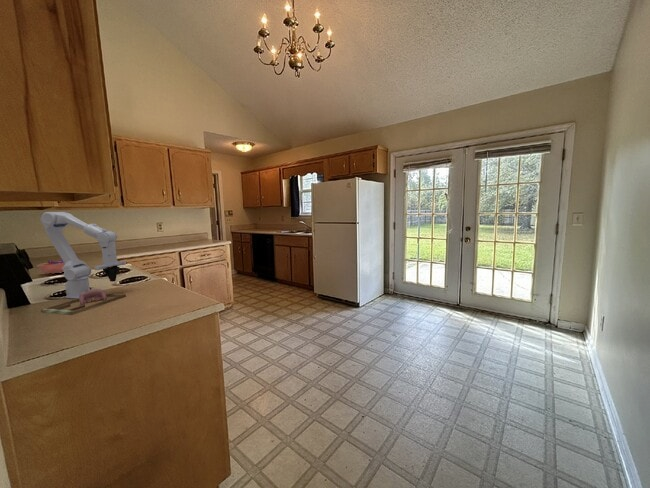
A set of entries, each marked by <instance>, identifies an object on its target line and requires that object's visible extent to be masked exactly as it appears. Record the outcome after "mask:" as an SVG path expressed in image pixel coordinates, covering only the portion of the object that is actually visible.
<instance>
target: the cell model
mask: <svg viewBox="0 0 650 488" xmlns="http://www.w3.org/2000/svg"><path fill="white" fill-rule="evenodd" d="M64 265H65V263H64V262H63V260H62V259H60V260H55V261H54V260H51V261H50V260H48V261H47V262H44V263H39V264H37V265H36V266H37V268H38V269H39V270H40V271H41V272H42V273H44V274H47V275H50V274H49V273H60V272H63V270H62V268H63V267H64Z"/></svg>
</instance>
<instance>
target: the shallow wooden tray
mask: <svg viewBox="0 0 650 488" xmlns="http://www.w3.org/2000/svg"><path fill="white" fill-rule="evenodd" d="M105 294H106V297H112V298H107V299H106V300H105V301H104V300H102V301H100V302H96V303H93V304H90V305H88V306H86V304H84V305H81V304H80V305H78V306H75V307H72V308H69V307H71V304H74V303H75V304H76V303H77V302H80V301H79V298H78V299H77V298H74V299H71V300H69V301H68V300H67V301H65V302H61V303H59V304H55V305H51V306H48V307H45V308H40V312H41V313H48V314H49V313H50V314H60V315H71V316H72V315H76V314H79V313H82V312H84V311H85V312H86V311H87V310H91V309H93V308H96V307H101V306H103V305H105V304H108V303H112V302H115V301H117V300H119V299H123V298H125V297H127V296H126V294H124V293H111V292H110V293H109V292H105ZM90 297H91V298H92V299H93V298H95V296H90ZM66 308H68V309H66Z"/></svg>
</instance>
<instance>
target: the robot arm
mask: <svg viewBox="0 0 650 488" xmlns="http://www.w3.org/2000/svg"><path fill="white" fill-rule="evenodd" d="M39 221H40V222H41V224H42V226H43V228H44V232H45V234H46V236H47V237H48V239H49V241H50V243H51V244H52V245H53V247H54V249H55V250H56V252H57V254H58V255H59V257H60V258H61V260H63V262H64V263H65V265H64V267H63V268H62V270H63V272H64V273H63V276H64V278H65V280H67V281H66V282H65V294H66V296H64V298H65V299H78V298H79V296H80V294H82V293H83V292H86V291H88V290H91V288H90V280H89V278H90V275H91V273H92V268H91V267H90V266H89V265H87V263H86V261H83V260H81V259H79V258H78V256H77V254H76V252H75V251H74V249H73V248H72V246H71V245H70V243H69V241H68V239H67V238H66V237H65V235H64V233H63V230H65V228H66V227H67V226H68V225H70V226H72V227H76V228H78V229H80V230H83V233H84V234H85V235H87V236H89V237H92V238H94V239H96V240H97V242H98V243H99V246H100V249H101V256H102V264H100V265H96V266H94V271H100V270H102V271H103V272H104V273H105V275H107V278H108V280H109V282H111V283H112V282H116V281H117V275H118V272H119V270H120V267H121V266H126V263H127V262H126V260H120V261H118V256H117V247H116V241H117V240H118V235H117V233H116V232H114V231H113V230H107V229H106V228H102V227H100V226H98V224H97V223H89V224H88V223H86V222H84V221H83V220H81V219H79V218H77V217H75V216H74V215H73V214H72V213H69V212H67V211H46V212H45V211H44V212H43V213H42V215H41V216H40V219H39Z"/></svg>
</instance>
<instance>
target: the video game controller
mask: <svg viewBox="0 0 650 488" xmlns="http://www.w3.org/2000/svg"><path fill="white" fill-rule="evenodd" d="M105 293H106V291H105V290H103V289H100V288H98V289H97V288H96V289H95V288H94V289H90V290H88V291H86V292H83V293H82V294H80V296H79V301H78V302H79V303H80V306H81V305H85V302H86V303H91V302H92V301H93V299H94V301H95V302H98V301H100V300H101V298H102V299H103V300H102V301H105V300H108V298H107V297H108V296H106V294H105ZM90 296H95V297H92V298H91V297H90Z"/></svg>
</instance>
